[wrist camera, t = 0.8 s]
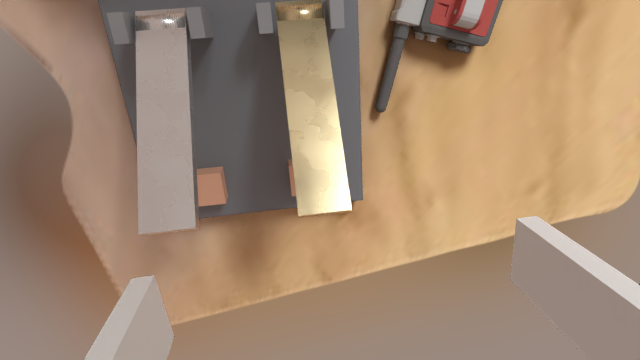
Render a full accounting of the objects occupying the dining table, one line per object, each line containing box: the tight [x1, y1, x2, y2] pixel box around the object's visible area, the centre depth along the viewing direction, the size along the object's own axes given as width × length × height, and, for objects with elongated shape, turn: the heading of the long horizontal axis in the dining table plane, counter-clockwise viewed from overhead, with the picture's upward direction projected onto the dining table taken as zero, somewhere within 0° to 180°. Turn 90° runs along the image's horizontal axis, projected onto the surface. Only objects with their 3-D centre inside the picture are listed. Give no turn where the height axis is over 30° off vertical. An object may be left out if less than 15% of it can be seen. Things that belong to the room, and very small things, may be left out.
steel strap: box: [134, 8, 200, 236], centre depth 25 cm, size 16×4×2 cm
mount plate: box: [98, 0, 363, 218], centre depth 31 cm, size 20×20×6 cm
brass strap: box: [275, 0, 352, 218], centre depth 26 cm, size 16×4×2 cm
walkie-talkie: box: [376, 0, 503, 112], centre depth 31 cm, size 9×4×20 cm
